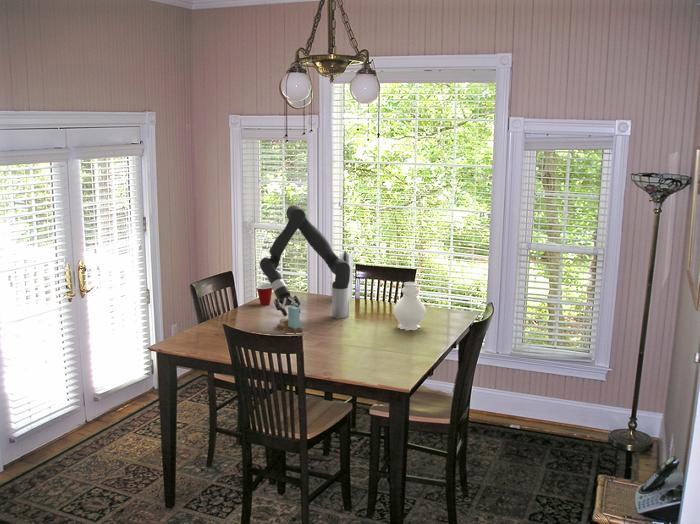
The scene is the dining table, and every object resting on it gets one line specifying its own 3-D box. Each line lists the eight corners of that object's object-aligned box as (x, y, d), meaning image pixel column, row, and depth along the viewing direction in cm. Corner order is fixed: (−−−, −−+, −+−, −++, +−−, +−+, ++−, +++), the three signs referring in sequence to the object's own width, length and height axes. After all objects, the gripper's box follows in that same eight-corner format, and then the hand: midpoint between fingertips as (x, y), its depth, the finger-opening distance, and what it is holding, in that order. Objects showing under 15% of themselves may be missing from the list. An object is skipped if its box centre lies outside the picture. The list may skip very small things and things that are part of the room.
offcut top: (286, 322, 391) (286, 318, 391) (290, 323, 389) (290, 319, 388) (279, 323, 388) (279, 319, 388) (284, 325, 385) (284, 321, 385)
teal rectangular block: (292, 329, 386) (292, 305, 384) (299, 331, 382) (299, 308, 379) (288, 330, 384) (288, 306, 382) (294, 332, 380) (295, 309, 377)
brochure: (347, 301, 450) (348, 254, 444) (339, 300, 451) (340, 254, 445) (352, 296, 464) (353, 250, 458) (344, 295, 465) (344, 250, 459)
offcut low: (286, 325, 392) (286, 322, 392) (291, 327, 389) (291, 323, 389) (279, 327, 389) (279, 323, 388) (283, 329, 386) (283, 325, 385)
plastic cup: (254, 302, 442) (254, 283, 440) (272, 302, 445) (272, 283, 442) (256, 307, 432) (256, 287, 429) (274, 306, 434) (274, 287, 432)
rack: (291, 325, 396) (291, 319, 396) (314, 334, 381) (314, 328, 380) (270, 329, 388) (270, 324, 387) (293, 338, 372) (293, 333, 371)
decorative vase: (397, 321, 408) (399, 278, 403) (428, 324, 402) (430, 281, 397) (389, 329, 392) (390, 285, 387) (420, 333, 386) (422, 288, 381)
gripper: (272, 287, 381) (284, 312, 375) (294, 283, 390) (306, 308, 384) (266, 294, 386) (278, 320, 380) (288, 291, 395) (300, 316, 389)
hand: (292, 314), depth 382 cm, fingers open, 8 cm apart
